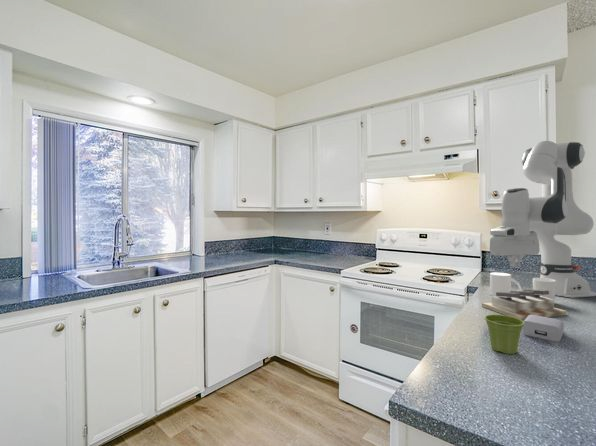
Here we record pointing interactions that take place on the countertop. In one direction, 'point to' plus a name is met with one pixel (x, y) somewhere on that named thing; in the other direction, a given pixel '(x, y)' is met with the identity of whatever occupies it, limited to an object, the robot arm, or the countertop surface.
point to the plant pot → (504, 332)
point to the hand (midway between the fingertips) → (514, 266)
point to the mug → (501, 283)
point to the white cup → (545, 286)
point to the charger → (543, 327)
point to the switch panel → (522, 317)
